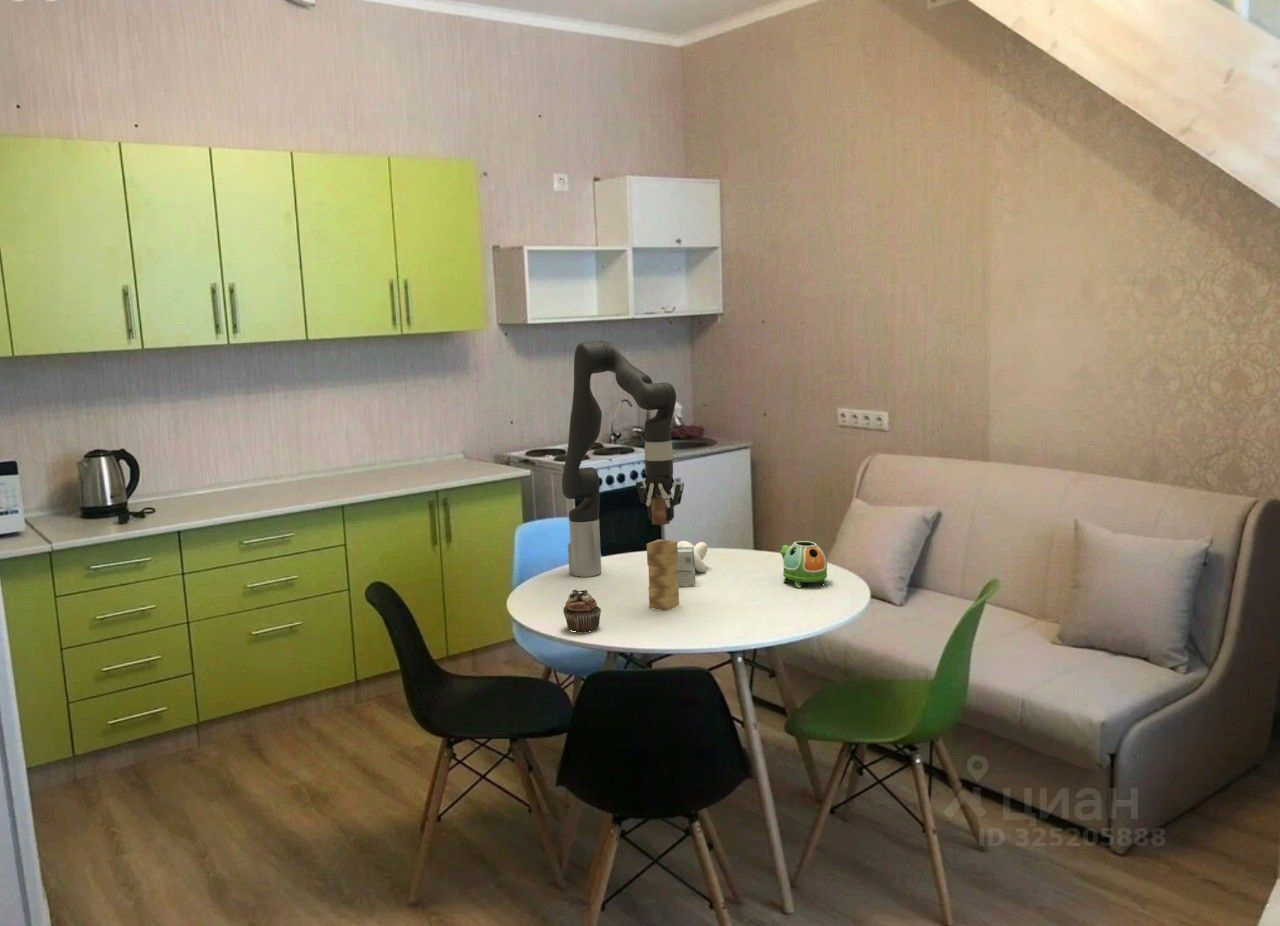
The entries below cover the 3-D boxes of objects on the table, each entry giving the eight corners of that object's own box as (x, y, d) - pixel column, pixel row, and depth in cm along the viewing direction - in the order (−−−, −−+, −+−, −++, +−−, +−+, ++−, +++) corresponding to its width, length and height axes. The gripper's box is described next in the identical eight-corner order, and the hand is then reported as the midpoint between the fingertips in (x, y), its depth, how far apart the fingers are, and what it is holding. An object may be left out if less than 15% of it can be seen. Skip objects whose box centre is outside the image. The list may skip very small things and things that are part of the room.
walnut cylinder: (648, 524, 277) (647, 498, 276) (657, 520, 281) (656, 495, 280) (664, 525, 274) (663, 499, 273) (672, 521, 278) (672, 496, 277)
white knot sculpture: (667, 575, 314) (665, 547, 313) (674, 566, 325) (673, 538, 324) (703, 576, 311) (702, 547, 310) (709, 566, 323) (708, 538, 322)
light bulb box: (695, 581, 306) (694, 545, 305) (694, 587, 300) (693, 551, 298) (659, 581, 308) (658, 546, 306) (658, 587, 301) (656, 551, 299)
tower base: (649, 608, 280) (648, 587, 279) (660, 602, 285) (659, 581, 284) (668, 611, 277) (667, 589, 276) (679, 605, 282) (678, 583, 281)
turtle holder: (802, 571, 312) (801, 533, 310) (836, 585, 295) (835, 545, 294) (767, 577, 307) (766, 538, 305) (799, 591, 291) (798, 550, 289)
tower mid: (649, 587, 278) (648, 566, 278) (657, 582, 284) (656, 560, 283) (669, 589, 276) (669, 567, 275) (677, 583, 282) (676, 562, 281)
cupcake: (602, 633, 260) (600, 594, 259) (564, 635, 259) (562, 596, 258) (601, 621, 270) (599, 584, 268) (564, 624, 269) (562, 586, 267)
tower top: (647, 565, 278) (646, 543, 278) (659, 560, 283) (658, 539, 282) (666, 567, 275) (665, 545, 274) (678, 562, 280) (677, 541, 279)
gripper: (628, 458, 275) (631, 520, 278) (675, 460, 268) (677, 524, 271) (642, 454, 282) (645, 515, 284) (688, 456, 275) (690, 519, 277)
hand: (661, 519), depth 277 cm, fingers closed on walnut cylinder, 4 cm apart
